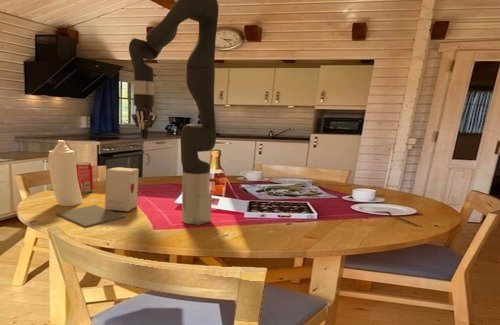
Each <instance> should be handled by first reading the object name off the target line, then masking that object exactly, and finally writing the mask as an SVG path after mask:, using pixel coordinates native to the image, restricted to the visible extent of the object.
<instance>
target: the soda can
mask: <svg viewBox="0 0 500 325" xmlns="http://www.w3.org/2000/svg"><path fill="white" fill-rule="evenodd" d="M76 170H77V179H78V183H79V188H80V192H81V194H87V193H88V194H89V193H91V192H92V191H93V190H94V179H93V178H94V175H93V172H94V171H93V170H94V169H93V165H92V163H91V162H88V161H87V162H76Z"/></svg>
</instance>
